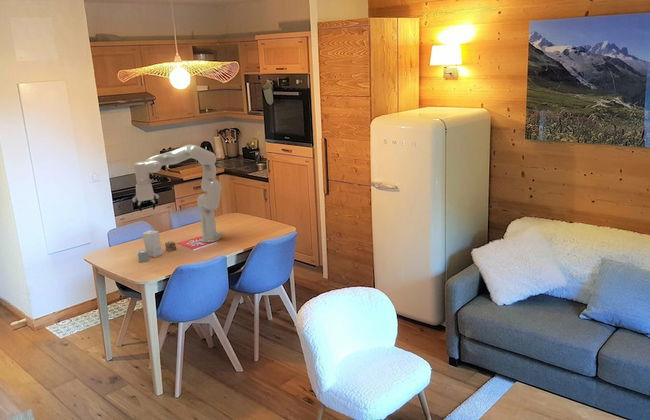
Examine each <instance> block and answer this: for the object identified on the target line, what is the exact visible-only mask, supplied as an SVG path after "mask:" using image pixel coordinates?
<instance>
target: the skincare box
mask: <svg viewBox="0 0 650 420" xmlns="http://www.w3.org/2000/svg"><path fill="white" fill-rule="evenodd" d="M142 236H143V237H142V238H143V244H144V250H147V253H148V257H151V258H157V257H159V256H162V255H163V248H162V243H161V237H160V231H159V230H147V231H145V232H143V233H142Z"/></svg>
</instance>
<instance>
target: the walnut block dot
mask: <svg viewBox="0 0 650 420" xmlns="http://www.w3.org/2000/svg"><path fill="white" fill-rule="evenodd" d="M164 244H165V245H164V246H165V251H167V252H173V251H177V245H176V244H177V243H176V242H175V241H174V240H171V241H168V242H164Z"/></svg>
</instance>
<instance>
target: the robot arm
mask: <svg viewBox="0 0 650 420" xmlns="http://www.w3.org/2000/svg"><path fill="white" fill-rule="evenodd" d="M189 159H194V160H196V161H197V162H198V163H199V164H200V165H201V167H202V178H201V185H200V188H201V190H202V191H203V192H204V193H202V194H200V195H199V196H198V197H197V199H196V205H197V208H198V211H199V217H200V225H201V233H202V237H201V239H200V241H201V242H202V243H212V242H213V243H214V242H216V241H217V242H218V241H219V240H220V239H221V237H220V236H225V232H221V231H220V232H218V230H217V224H216V223H217V222H216V214H215V210H217V209H218V208H219V205H220V202H221V196H222V184H221V182H220V181H219V180H218V179H216V176H217V168H216V165H215V164H216V162H217V155H216V154H215V153H214V152H212V151H211V150H208V149H205V148H203V147H201V146H198V145H195V144H186V145H183V146H181V147H178V148H176V149H173V150H170V151H167V152H163V153H160V154H157V155H153V156H152V157H149V158H146V159H145V160H144V161H137V162H135V163H134V164H133V167H134V173H135V179H136V184H135V195H134V197H132V199H131V201H132V202H133V203H135V204H136V205H137V206H138V211H140V212H142V211H143V210H142V205H141V204H142V203H141V202H144V201H152V202H151V203H152V204H151V206H152V210H155V208H156V202H157V200H158V199H159V198H160V195H159V194H157V193H155V192H154V189H153V185H152V183H151V182H153V179H151V178H150V175H149V174H150V173H158V172H160V171H161V169H162V167H163V166H169V165H170V166H171V165H172V166H173V165H177V164H180V163H181V162H183V161H187V160H189ZM136 199H137V200H136Z"/></svg>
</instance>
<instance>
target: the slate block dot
mask: <svg viewBox="0 0 650 420" xmlns="http://www.w3.org/2000/svg"><path fill="white" fill-rule="evenodd" d="M137 257H138V262H139V263H147V262H148V261H149V256H148V253H147V250H146V249H144V250H143V249H142V250H138V252H137Z"/></svg>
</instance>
